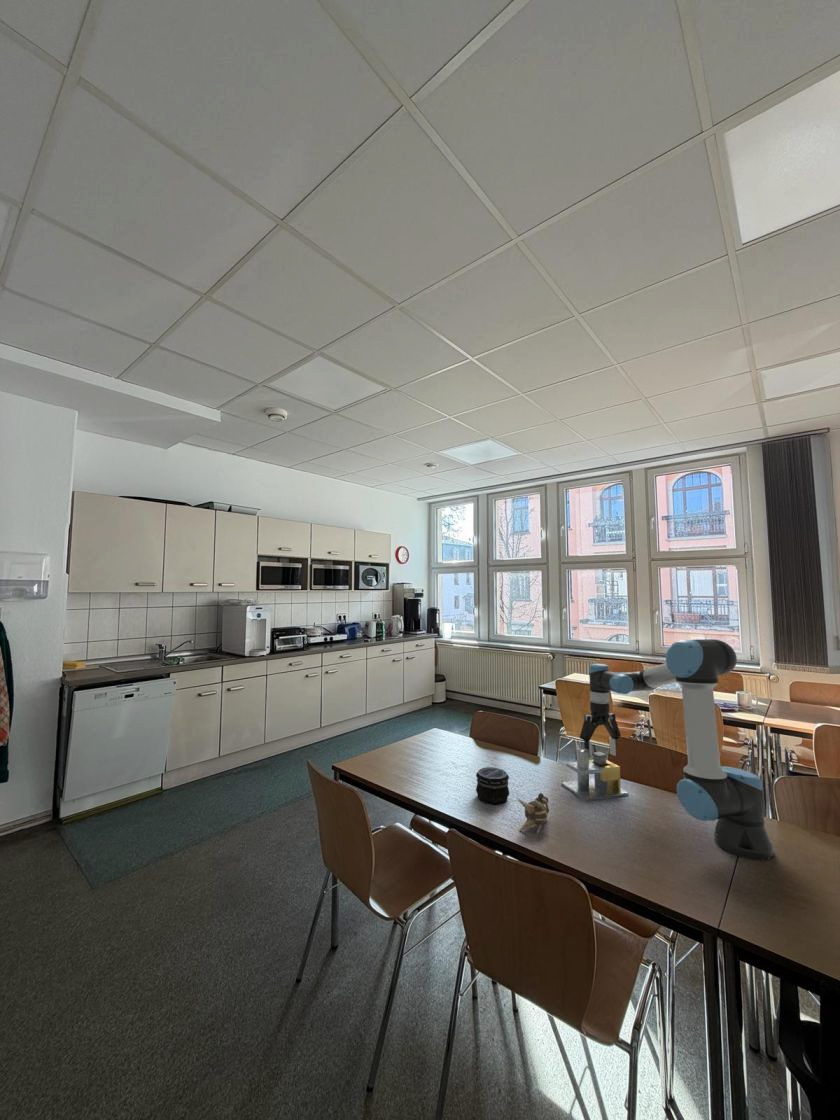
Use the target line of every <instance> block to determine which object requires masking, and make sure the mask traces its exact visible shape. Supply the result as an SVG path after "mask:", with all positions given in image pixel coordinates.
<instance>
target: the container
mask: <svg viewBox="0 0 840 1120" xmlns="http://www.w3.org/2000/svg"><path fill="white" fill-rule="evenodd" d="M475 777H476V782H477V785H476V788H475V792H476V794H477V800H478V801H479V802H480V803H482V804H483V805H484V804H485V805H489V806H501V805H504V804H506V803H507V802H508V798H509V795H510V790H509V786H508V785H509V779H510V777H509V774H508V773H507V772H506V770H504V769H503V768H499V767H493V766H491V767H490V766H489V767H488V766H486V767H482V768H480V769H478V771H477V772H476V774H475Z"/></svg>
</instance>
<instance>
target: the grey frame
mask: <svg viewBox="0 0 840 1120" xmlns="http://www.w3.org/2000/svg"><path fill="white" fill-rule="evenodd" d="M576 759H577V761H570V762H566V768H568V769H570V770H572V771H573V772H575V773H577V780H570V781H563V782H560V785H561V787H564V788H565V789H567V790H569V791H570V792H571V793H572V794H574V795H575V796H577V797H578V798H580V799H582V800H583V801H585V802H591V801H598V800H604V799H605V800H606V799H611V798H612V799H613V798H617V797H618V798H619V797H625V796H626V797H627V796H629V792H628V791H626V790H624V789H623V788H621V766H620V765H617V764H616V763H614V762H612V761H609V760H608V759H606V766H602V767H600V766H598V765H596V764H594V759H590V758H589V751H588V750H586V749H585V748H577V749H576ZM595 773H600V780H602V781H607V787H606V788H599V787H597V786H596V785H595V777H593V778H590V775H594V774H595Z"/></svg>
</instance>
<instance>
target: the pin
mask: <svg viewBox="0 0 840 1120" xmlns="http://www.w3.org/2000/svg"><path fill="white" fill-rule="evenodd" d="M592 757H593V758H592V759H593V760H594V764H596V765H598V766H600V767H602V766H606V760H607V754H606V753H604V752H602V751H596V752H595V751H594V752H592ZM593 775H594V777H593V778H595V785H596V786H597V787H599V788H606V787H607V781H602V780H600V773H595V774H593Z"/></svg>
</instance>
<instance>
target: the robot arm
mask: <svg viewBox="0 0 840 1120" xmlns="http://www.w3.org/2000/svg"><path fill="white" fill-rule="evenodd" d="M737 660H738V659H737V654H736V652H735V650H734V648H732V646H731V645H729V644H728V643H727V642H725V641H724V640H719V639H712V638H711V639H691V638H689V639H683V640H682V639H681V640H677V641H675V642H673V643H672V644H671V646H669V647H668V649H667V651H666V654H665V663H661V664H659V665H655V666H653V667H649V668H645V669H643V670H639V671H627V672H625V671H624V672H622V671H621V672H620V671H619V672H615V671H610V669H609V665H608V664H606V663H605V664H604V663H591V664H590V665H589V672H588V673H589V674H588V675H589V676H588V677H589V699H590V702H589V710H590V712H591V713H590V714H589V715H588V714H585V715H584V716H583V718H584V720H583V724H582V726H581V731H580V735H579V739H580V740H583V741H584V742H583V743H584V746H583V747H584V748H583V749H586V750H588V751H589V759H593V758H592V757H593V752H592V751H593V749H592V741H591V738H592V737H593V735H594V733H595V732H596V729H597V728H598V727H599V726H604V727H605V729H606V731H607V733H608V734H609V736H610V737H609V738H608V739H609V743H608V744H609V755H611V756H615V757H616V756H617V755H616V753H617V751H616V747H617V746H618V745H617V744H618V743H617V741H618V740H619V738H621V731H620V728H619V726H618V723H617V719H616V714H615V713H612V712H610V703H609V702H610V692H613V693H617V694H621V695H627V694H630V693H631V692H642V691H643V692H645V691H646V692H647V691H648V692H649V691H653V690H654V691H655V690H656V689H657V688H659V687H663V686H666V685H670V684H671V685H672V684H674V683H677V684H678V685H679V686H680V687H681V692H682V693H681V694H682V695H681V697H682V705H683V707H682V708H683V715H684V728H685V738H686V739H685V740H686V750H687V754H686V755H687V764H686V766H684V767H683V768H682V769H683V779H680V780H679V781H678V783H677V784H676V795H677V799H678V800H679V803H680V804H681V806H682V807H683V808H684V810H685V811H686V813H687V814H688V815H690V816H691V817H692V818H694V819H695V820H699V821H701V822H704V821H706V822H707V821H712V822H713V821H717V823H716V825H715V828H714V831H713V839H714V842H715V844H716V845H718V846H719V848H721V849H723V850H724V851H726V852H728V853H730V854H733V855H735V856H738V857H741V858H745V859H749V860H757V861H763V860H762V859H767V860H769V859H768V858H770V857H772V856H773V857H774V847H773V844H772V843H771V841H770V838H769V835H768V832H767V830H766V825H765V811H764V808H765V807H764V789H763V782H762V778H760V777H759V776H758V775H756V774H754V773H752V772H750V771H747V770H743V769H740V768H737V767H732V766H724V765H723V766H722V765H721V759H720V758H721V757H720V747H719V739H718V727H717V717H716V716H717V715H716V707H715V706H716V705H715V696H714V688H715V687H717V685H718V684H719V678H718V676H722V675H726V674H729V673H730V672H732V671H733V670H734V669H735V667H736V665H737ZM773 857H772V858H773ZM770 859H771V858H770Z"/></svg>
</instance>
